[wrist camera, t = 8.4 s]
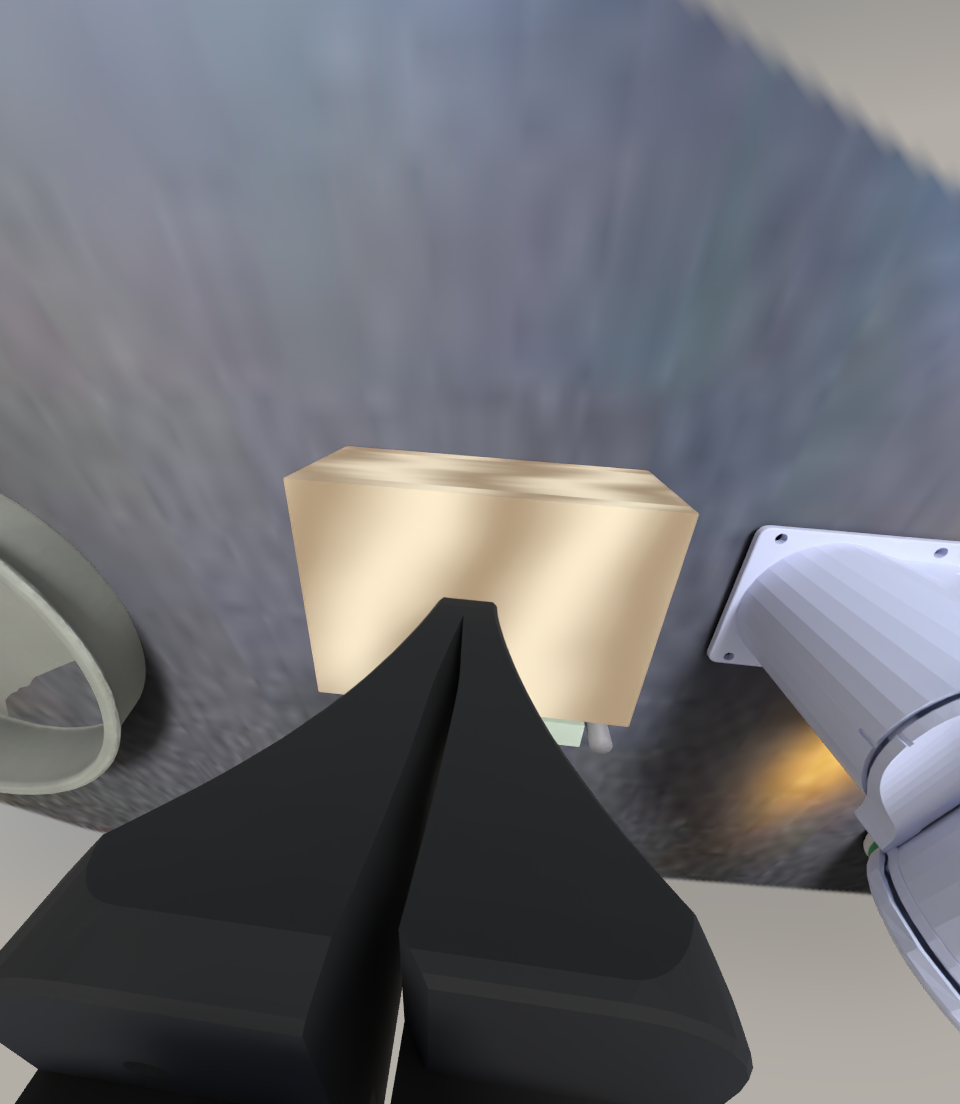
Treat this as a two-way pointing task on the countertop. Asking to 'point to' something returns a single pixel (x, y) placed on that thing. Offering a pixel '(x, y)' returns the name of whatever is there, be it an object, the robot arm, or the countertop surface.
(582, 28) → the countertop surface
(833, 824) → the countertop surface
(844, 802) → the countertop surface
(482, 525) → the cabinet
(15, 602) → the cake pan
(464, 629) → the robot arm
